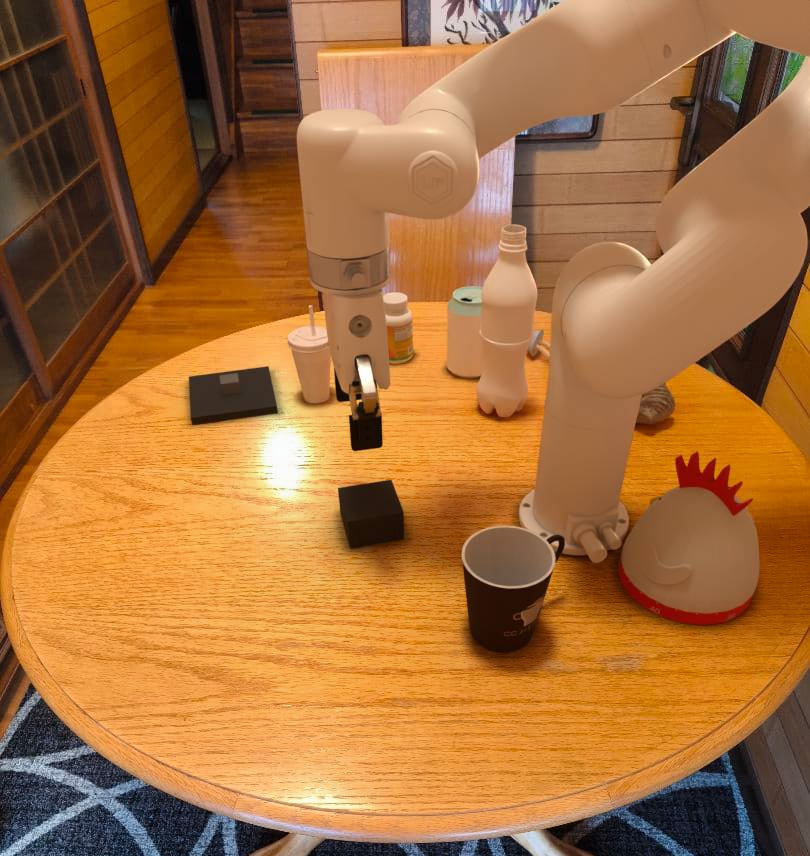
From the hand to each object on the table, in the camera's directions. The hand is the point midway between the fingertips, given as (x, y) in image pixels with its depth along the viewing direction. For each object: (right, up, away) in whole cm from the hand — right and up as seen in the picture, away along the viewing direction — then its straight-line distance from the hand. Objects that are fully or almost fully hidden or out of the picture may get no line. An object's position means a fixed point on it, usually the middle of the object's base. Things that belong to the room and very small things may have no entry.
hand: (358, 422), depth 81 cm
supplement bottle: (+3, +16, +39) cm, 43 cm away
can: (+15, +14, +36) cm, 41 cm away
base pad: (-20, +8, +31) cm, 38 cm away
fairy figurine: (+25, +17, +39) cm, 49 cm away
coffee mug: (+16, -21, -4) cm, 27 cm away
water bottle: (+19, +6, +27) cm, 34 cm away
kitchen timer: (+35, -17, +1) cm, 39 cm away
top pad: (+1, -11, +8) cm, 14 cm away
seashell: (+37, +4, +25) cm, 45 cm away
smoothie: (-8, +8, +31) cm, 33 cm away
